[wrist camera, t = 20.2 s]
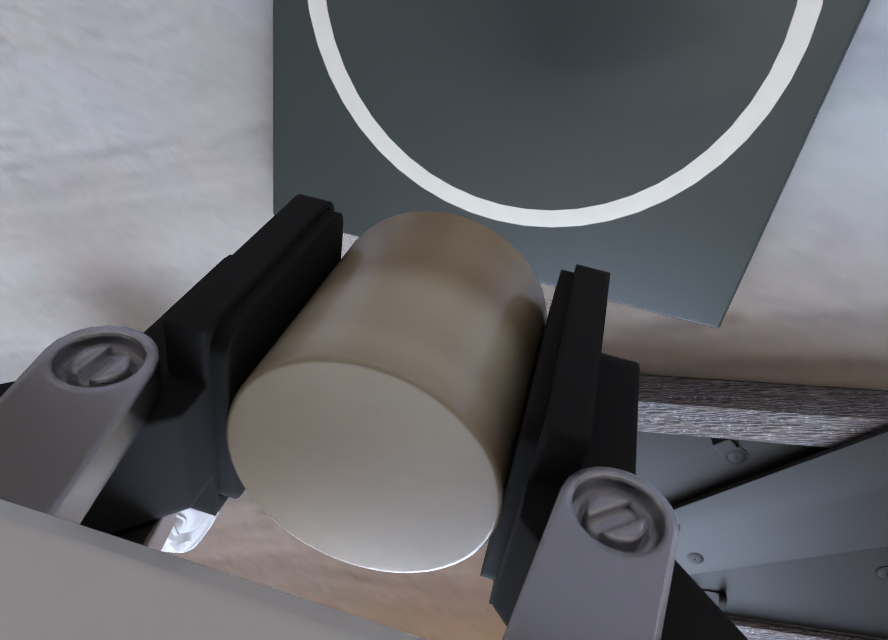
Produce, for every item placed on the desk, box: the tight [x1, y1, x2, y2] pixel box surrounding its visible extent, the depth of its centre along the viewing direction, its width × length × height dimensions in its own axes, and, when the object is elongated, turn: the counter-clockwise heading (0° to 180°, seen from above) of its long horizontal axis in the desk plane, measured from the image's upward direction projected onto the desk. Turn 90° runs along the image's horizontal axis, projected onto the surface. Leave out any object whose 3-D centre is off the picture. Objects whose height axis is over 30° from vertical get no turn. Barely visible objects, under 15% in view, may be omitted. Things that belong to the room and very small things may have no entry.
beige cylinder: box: [226, 211, 547, 573], centre depth 10 cm, size 4×4×4 cm
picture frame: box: [636, 375, 888, 640], centre depth 28 cm, size 13×2×18 cm
